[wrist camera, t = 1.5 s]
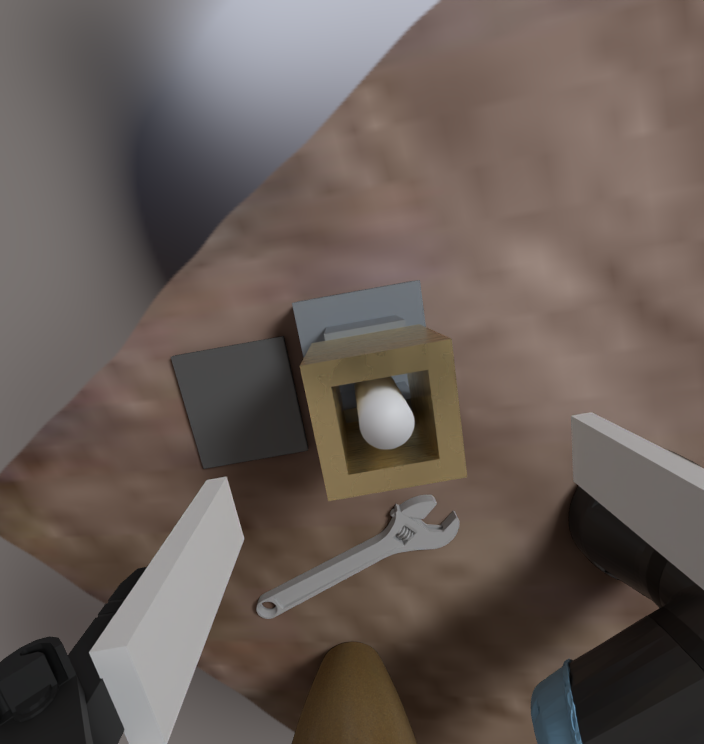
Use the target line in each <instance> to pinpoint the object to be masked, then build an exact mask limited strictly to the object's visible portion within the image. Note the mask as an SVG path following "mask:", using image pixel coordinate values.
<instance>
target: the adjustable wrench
mask: <svg viewBox="0 0 704 744" xmlns="http://www.w3.org/2000/svg"><path fill="white" fill-rule="evenodd" d="M436 504H437V502H436V500H435V498H434V497H433V496H432V495H420V496H416V497H413V498H411V499H409V500H407V501H405V502H404V503H402V504H400V505H397V504H395V506H394V508H395V509H392V510H391V512H390V515H391V516H392V519H391V521H390V523H389V525H388V526H387V527H386V528H385V529H384V530H383V531H382V532H381V533H380V534H378V535H376V536H375V537H373V538H371V539H369V540H367V541H365V542H363V543H361V544H359V545H357V546H355V547H353V548H352V549H350V550H348V551H346V552H344V553H342V554H340V555H338V556H336V557H334V558H332V559H330V560H328V561H326V562H324V563H323V564H321V565H319V566H317V567H315V568H313V569H311V570H309V571H307V572H305V573H303V574H301V575H299V576H297V577H295V578H294V579H292V580H290V581H288V582H286V583H284V584H282V585H280V586H278V587H276V588H274V589H272V590H270V591H268V592H266V593H264V594H263V595H261V596H260V598H259V601H258V604H257V608H256V609H257V613H258V615H260V616H261V617H263V618H266V619H270V618H274V617H276V616H278V615H279V614H281V613H283V612H285V611H287V610H289V609H291V608H292V607H294V606H296V605H298V604H300V603H302V602H304V601H305V600H307V599H309V598H311V597H313V596H315V595H317V594H319V593H320V592H322V591H324V590H326V589H328V588H330V587H332V586H333V585H335V584H337V583H339V582H341V581H343V580H345V579H346V578H348V577H350V576H352V575H354V574H356V573H358V572H359V571H361V570H363V569H365V568H367V567H369V566H371V565H372V564H374V563H376V562H378V561H380V560H382V559H384V558H385V557H388V556H390V555H392V554H396V553H400V552H406V551H412V550H425V549H436V548H440V547H442V546H445V545H446V544H448V543H449V542H450V541H451V540H452V539H453V538H454V537H455V535H456V534H457V531H458V529H459V519H458V517H457V515H456V513H455V511H452V512H451V513H450V515H449V516H448V517H447V518H446V519H445V520H444V521H443V523H442V524H441V525H431V524H426V523H424V522H423V521H422V520H421V519H424V518H425V517H426V516H427V514H428V513H429V512H430V511H431V510H432V509H433V508H434V507H435V505H436ZM263 602H272V603H274V604H275V605H276V607H274V608H272V609H268V608H265V607H264V606H263V605H262V603H263Z"/></svg>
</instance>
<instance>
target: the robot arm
mask: <svg viewBox="0 0 704 744" xmlns="http://www.w3.org/2000/svg"><path fill="white" fill-rule="evenodd" d="M571 427H572V456H573V481H574V482H575V483H576V484H577V485H579V487H578V488H577V490H576V492H575V494H574V497H573V499H572V502H571V506H570V511H569V527H570V532H571V535H572V538H573V540H574V542H575V543H576V545H577V546H578V548H579V549H580V550H581V551H582V552H583V553H584V555H585V556H586V557H587V558H588V559H589V560H590V561H591V562H592V563H593V564H594V565H595V566H596V567H597V568H599V569H600V570H601V571H603V572H604V573H606V574H608V575H610V576H611V577H613V578H616V579H618V580H621V581H623V582H624V583H626V584H627V585H629V586H630V587H632V588H633V589H635V590H636V591H638V592H639V593H641V594H642V595H644V596H646V597H647V598H649V599H651V600H652V601H653V602H654V603H655V604H656V605H657V606H658V607H659V609H658V610H656V611H654V612H653V613H651V614H649V615H648V616H645V617H644V618H642V619H640V620H639V621H637V622H636V623H634V624H632V625H631V626H629V627H628V628H626V629H624V630H623V631H621V632H619V633H618V634H616V635H615V636H613V637H611V638H610V639H608V640H607V641H605V642H603V643H602V644H600V645H599V646H597V647H595V648H594V649H592V650H590V651H588V652H587V653H585V654H583V655H582V656H580V657H578V658H577V659H575V660H571V659H568V660H566V661H565V662H564V664H563V666H562V667H561V668H560V669H558V670H557V671H555V672H554V673H553V674H551V675H550V676H548V677H547V678H546V679H544V680H543V681H541V682H540V683H539V684H538V685H537V686H536V687H535V689H534V691H533V694H532V698H531V716H532V722H533V727H534V732H535V736H536V740H537V743H538V744H704V468H702V467H701V466H699V465H698V464H696V463H694V462H693V461H691V460H689V459H687V458H685V457H683V456H681V455H679V454H676V453H674V452H672V451H669V450H666V449H664V448H662V447H660V446H658V445H656V444H654V443H652V442H650V441H648V440H646V439H644V438H642V437H640V436H638V435H636V434H634V433H632V432H630V431H628V430H626V429H624V428H622V427H620V426H618V425H616V424H614V423H612V422H610V421H608V420H606V419H604V418H602V417H600V416H598V415H596V414H594V413H592V412H590V413H584V414H579V415H573V416H571ZM243 541H244V536H243V533H242V529H241V525H240V522H239V518H238V515H237V511H236V508H235V504H234V501H233V497H232V494H231V490H230V487H229V483H228V480H227V477H221V478H216V479H210V480H206V482H205V483H204V485H203V486H202V488H201V489H200V491H199V492H198V494H197V495H196V496H195V498H194V499H193V501H192V502H191V504H190V505H189V507H188V508H187V510H186V511H185V513H184V514H183V516H182V517H181V518H180V520H179V521H178V523H177V524H176V526H175V527H174V529H173V530H172V532H171V533H170V535H169V536H168V537H167V539H166V540H165V542H164V543H163V545H162V546H161V548H160V549H159V551H158V552H157V554H156V555H155V556H154V558H153V559H152V561H151V562H150V564H149V565H148V567H144V568H138V569H137V570H136V571H134V572H133V573H132V574H131V575H130V576H129V577H128V578H127V579H125V580H124V581H123V582H122V583H121V584H120V585H119V587H118V588H117V589H116V591H115V592H114V593H113V595H112V596H111V597H110V599H109V600H108V603H107V604H105V606H104V607H103V608H102V610H101V611H100V612H99V614H98V618H95V619H94V621H93V622H92V623H91V625H90V626H89V628H88V629H87V630H86V631H85V633H84V634H83V636H82V637H81V638H80V640H79V641H78V642H77V644H76V645H75V646H74V648H73V649H72V651H71V652H70V653H69V655H67V653H66V651H65V648H64V646H63V644H62V642H61V641H60V639H59V638H56V637H46V638H42V639H39V640H35V641H33V642H31V643H29V644H27V645H25V646H23V647H21V648H19V649H18V650H16V651H15V652H13V653H12V654H10V655H9V656H8V657H6V658H5V659H3V660H2V661H1V662H0V744H118V742H119V740H120V738H121V736H122V734H123V732H124V734H125V736H126V738H127V741H128V743H129V744H167V743H168V740H169V738H170V735H171V732H172V730H173V727H174V724H175V722H176V719H177V716H178V714H179V711H180V708H181V705H182V703H183V700H184V698H185V695H186V692H187V690H188V687H189V684H190V682H191V679H192V677H193V674H194V671H195V669H196V666H197V663H198V661H199V658H200V655H201V653H202V650H203V647H204V645H205V642H206V639H207V637H208V634H209V631H210V629H211V626H212V623H213V621H214V618H215V615H216V613H217V610H218V607H219V605H220V602H221V599H222V597H223V594H224V591H225V589H226V586H227V583H228V581H229V578H230V575H231V573H232V570H233V567H234V565H235V562H236V559H237V557H238V554H239V552H240V549H241V546H242V544H243Z"/></svg>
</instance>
